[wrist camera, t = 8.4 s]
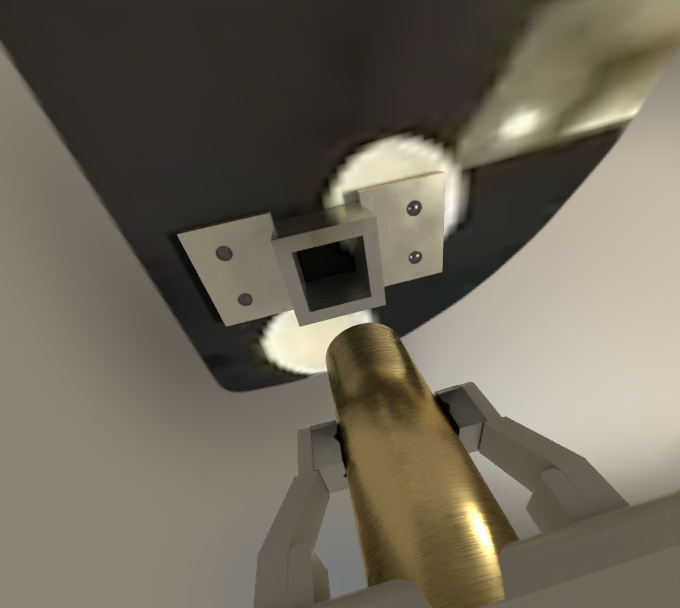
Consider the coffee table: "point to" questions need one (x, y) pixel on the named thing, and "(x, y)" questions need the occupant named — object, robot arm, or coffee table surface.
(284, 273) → the hinge
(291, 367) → the coffee table surface
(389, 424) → the hinge pin
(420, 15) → the coffee table surface
